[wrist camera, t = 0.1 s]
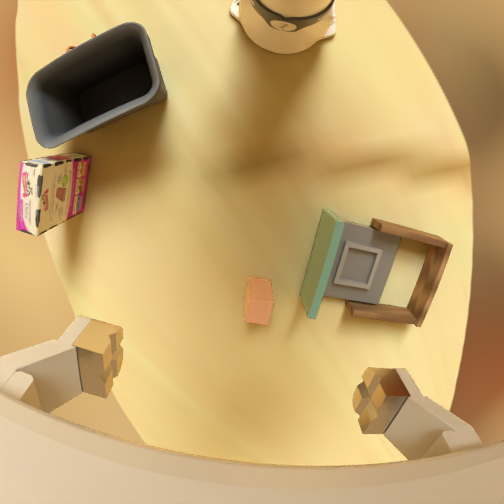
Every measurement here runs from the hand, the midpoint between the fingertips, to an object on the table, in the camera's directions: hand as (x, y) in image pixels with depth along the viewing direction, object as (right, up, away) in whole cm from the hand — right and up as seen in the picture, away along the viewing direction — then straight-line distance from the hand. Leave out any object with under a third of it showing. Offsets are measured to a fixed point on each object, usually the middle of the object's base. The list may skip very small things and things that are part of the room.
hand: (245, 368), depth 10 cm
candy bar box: (-33, +17, +45) cm, 58 cm away
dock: (+29, 0, +51) cm, 59 cm away
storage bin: (-23, +33, +39) cm, 56 cm away
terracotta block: (+1, -3, +52) cm, 52 cm away
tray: (+19, +2, +50) cm, 54 cm away
